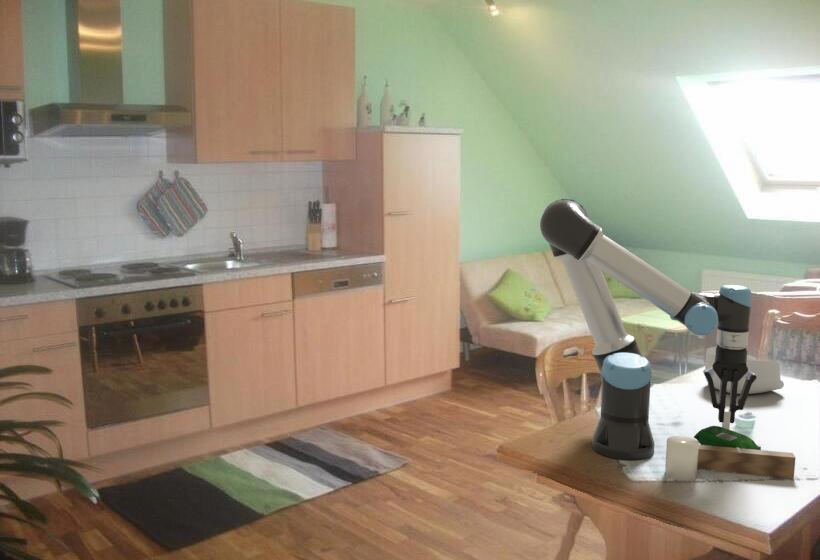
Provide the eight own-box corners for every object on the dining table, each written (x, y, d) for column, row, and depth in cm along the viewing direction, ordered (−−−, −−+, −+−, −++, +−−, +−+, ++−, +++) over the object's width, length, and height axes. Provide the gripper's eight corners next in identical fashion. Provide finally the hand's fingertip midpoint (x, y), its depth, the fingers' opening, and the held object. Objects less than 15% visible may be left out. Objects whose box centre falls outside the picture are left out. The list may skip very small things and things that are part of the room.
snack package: (742, 465, 196) (744, 444, 196) (690, 444, 210) (692, 425, 209) (762, 460, 200) (763, 439, 199) (710, 440, 213) (711, 420, 213)
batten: (692, 468, 194) (694, 448, 193) (691, 464, 197) (693, 443, 196) (793, 478, 188) (795, 457, 188) (791, 473, 191) (792, 452, 190)
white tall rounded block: (665, 478, 188) (667, 445, 187) (664, 467, 195) (666, 434, 193) (698, 481, 186) (700, 448, 185) (695, 470, 193) (697, 437, 192)
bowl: (690, 383, 265) (693, 347, 263) (740, 378, 270) (743, 343, 268) (732, 401, 246) (735, 363, 244) (785, 395, 252) (788, 358, 250)
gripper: (706, 347, 207) (700, 437, 211) (761, 351, 205) (754, 441, 208) (703, 341, 215) (697, 427, 218) (756, 344, 212) (749, 431, 216)
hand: (725, 434), depth 213 cm, fingers closed
